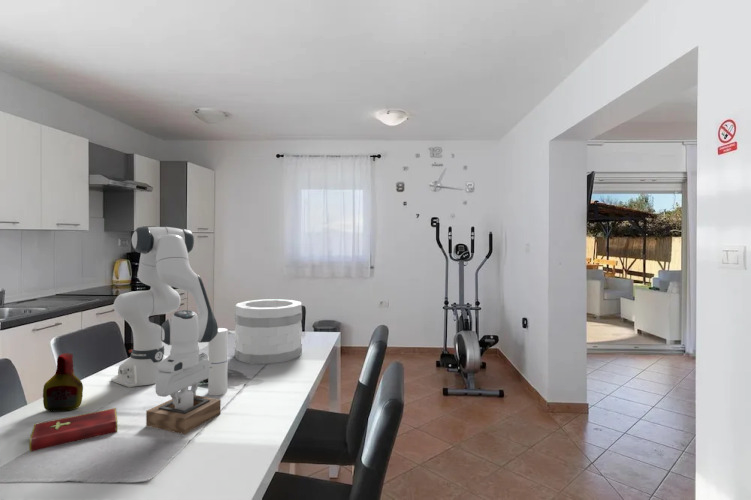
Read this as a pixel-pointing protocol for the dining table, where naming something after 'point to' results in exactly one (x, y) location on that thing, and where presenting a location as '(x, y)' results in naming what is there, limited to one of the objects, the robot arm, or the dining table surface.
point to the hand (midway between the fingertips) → (184, 400)
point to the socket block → (183, 415)
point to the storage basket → (268, 331)
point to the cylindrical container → (218, 363)
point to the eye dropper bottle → (185, 399)
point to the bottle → (63, 387)
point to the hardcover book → (72, 429)
